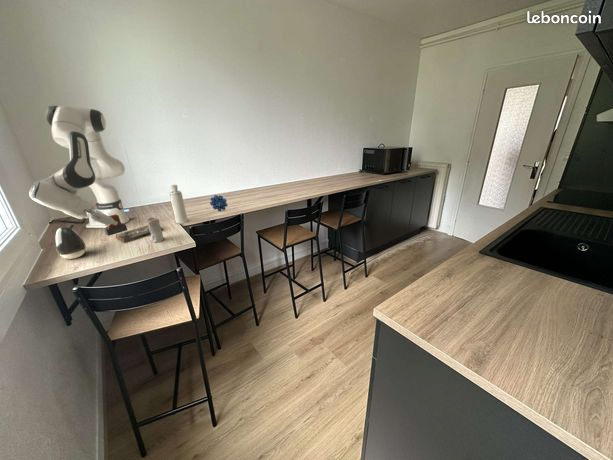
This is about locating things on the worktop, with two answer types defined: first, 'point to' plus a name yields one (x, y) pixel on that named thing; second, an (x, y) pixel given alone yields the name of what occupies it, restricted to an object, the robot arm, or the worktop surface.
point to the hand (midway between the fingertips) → (115, 222)
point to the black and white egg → (69, 243)
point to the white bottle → (178, 205)
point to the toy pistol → (134, 234)
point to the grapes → (218, 203)
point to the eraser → (115, 226)
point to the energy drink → (155, 229)
